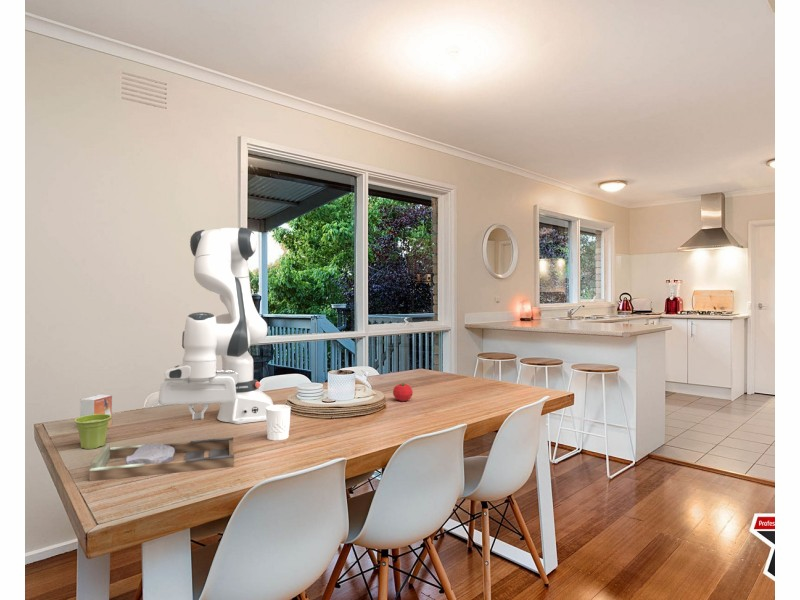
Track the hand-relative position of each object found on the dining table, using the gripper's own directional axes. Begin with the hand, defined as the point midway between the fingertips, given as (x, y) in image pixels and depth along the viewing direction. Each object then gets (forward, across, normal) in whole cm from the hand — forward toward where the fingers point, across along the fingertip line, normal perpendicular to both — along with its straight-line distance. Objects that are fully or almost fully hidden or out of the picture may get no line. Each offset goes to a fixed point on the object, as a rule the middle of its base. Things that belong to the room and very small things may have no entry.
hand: (197, 419), depth 136 cm
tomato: (+9, -81, -54) cm, 98 cm away
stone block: (+12, +11, -1) cm, 17 cm away
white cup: (+11, -24, -15) cm, 30 cm away
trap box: (+12, +7, 0) cm, 14 cm away
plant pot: (+12, +30, -21) cm, 39 cm away
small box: (+12, +35, -43) cm, 57 cm away
